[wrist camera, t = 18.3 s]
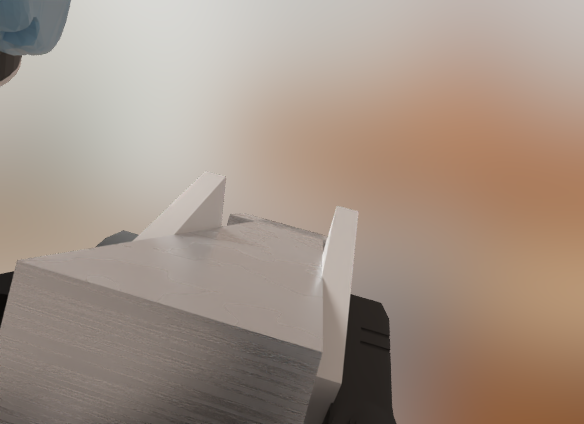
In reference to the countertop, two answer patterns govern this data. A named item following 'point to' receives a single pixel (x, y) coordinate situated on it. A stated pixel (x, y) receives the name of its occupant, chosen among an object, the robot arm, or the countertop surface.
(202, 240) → the steel block
